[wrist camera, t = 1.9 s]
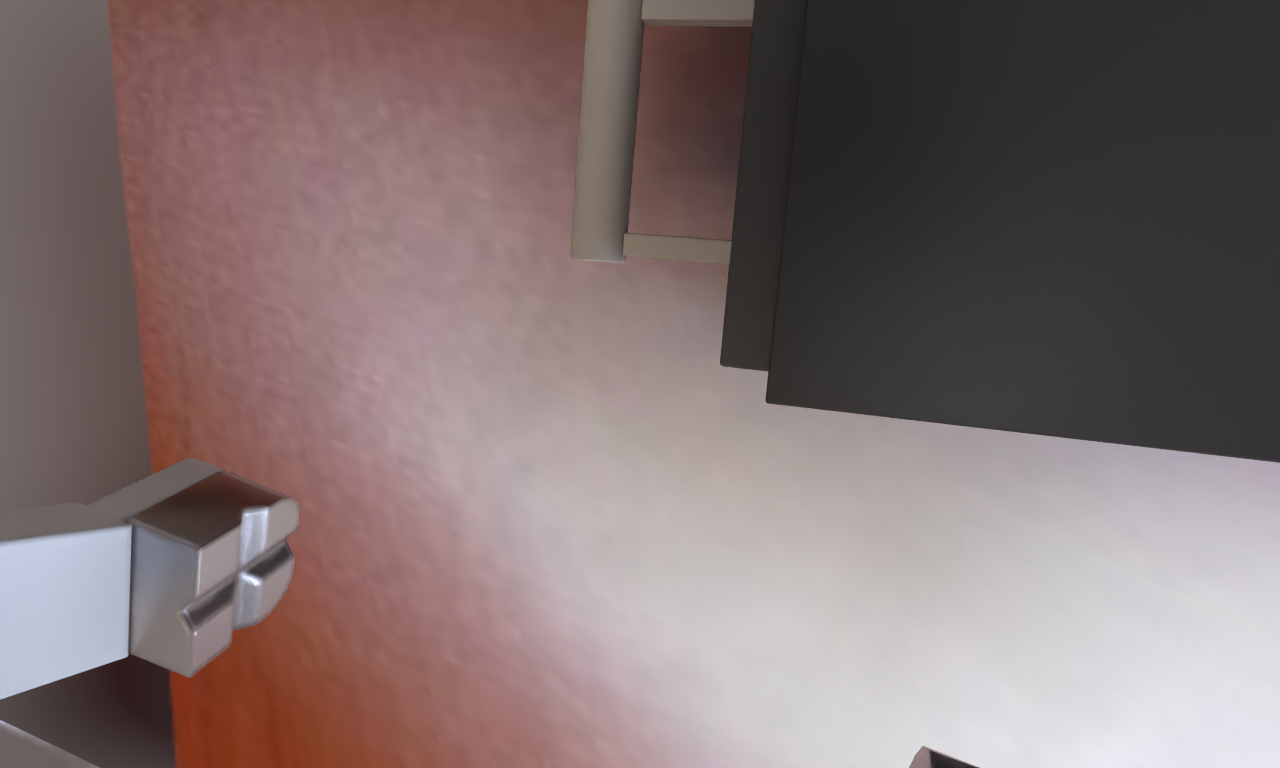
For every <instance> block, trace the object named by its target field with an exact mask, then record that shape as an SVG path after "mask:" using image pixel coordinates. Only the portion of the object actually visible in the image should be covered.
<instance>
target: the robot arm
mask: <svg viewBox="0 0 1280 768" xmlns="http://www.w3.org/2000/svg"><path fill="white" fill-rule="evenodd" d="M298 518H299V506H298V504H297V503H296V502H295V500H294V499H293V498H291V497H289V496H287V495H284V494H282V493H280V492H277V491H275V490H272V489H270V488H268V487H265V486H263V485H260V484H258V483H256V482H253V481H251V480H249V479H246V478H244V477H241V476H239V475H237V474H234V473H232V472H227V471H226V470H224V469H222V468H219V467H217V466H214V465H212V464H209V463H207V462H204V461H202V460H199V459H184V460H182V461H180V462H178V463H176V464H174V465H172V466H169V467H167V468H165V469H163V470H161V471H159V472H157V473H155V474H152V475H150V476H148V477H146V478H144V479H142V480H140V481H138V482H136V483H133V484H131V485H129V486H127V487H125V488H123V489H121V490H119V491H116V492H114V493H112V494H110V495H108V496H106V497H104V498H102V499H99V500H97V501H95V502H93V503H91V504H89V505H87V506H85V505H82V504H80V503H77V502H69V503H60V504H50V505H41V506H32V507H22V508H13V509H4V510H0V699H3V698H6V697H9V696H11V695H15V694H18V693H21V692H23V691H27V690H30V689H33V688H36V687H38V686H42V685H44V684H48V683H51V682H54V681H56V680H59V679H63V678H65V677H68V676H71V675H74V674H77V673H80V672H83V671H86V670H89V669H92V668H95V667H98V666H101V665H104V664H107V663H110V662H113V661H116V660H119V659H122V658H125V657H127V656H128V653H130V654H132V655H135V656H138V657H140V658H142V659H145V660H147V661H150V662H152V663H154V664H157V665H159V666H162V667H164V668H167V669H169V670H172V671H174V672H177V673H179V674H181V675H184V676H186V677H189V678H190V677H191V676H193V675H194V674H195V673H197V672H198V671H199V670H200V669H202V668H203V667H204V666H205V665H207V664H208V663H209V662H210V661H212V660H213V659H214V658H215V657H217V656H218V655H219V654H220V653H222V652H223V651H224V650H226V649H227V648H228V647H229V646H231V640H232V634H233V630H237V629H241V628H245V627H249V626H253V625H257V624H258V623H259V622H260V621H261V620H263V619H264V618H265V617H266V616H267V615H269V614H270V613H271V612H272V611H273V610H274V608H275V607H276V605H277V604H278V603H279V601H280V600H281V598H282V597H283V595H284V594H285V592H286V591H287V588H288V585H289V582H290V579H291V577H292V573H293V566H294V556H293V553H292V551H291V549H290V547H289V545H288V542H287V540H286V538H288V537H289V536H290V535H291V534H292V533H293V532H295V531H296V530H297V529H298ZM0 768H100V767H98V766H95V765H93V764H91V763H89V762H87V761H85V760H83V759H81V758H79V757H76V756H74V755H72V754H70V753H68V752H66V751H64V750H62V749H60V748H58V747H56V746H54V745H52V744H49V743H47V742H45V741H43V740H41V739H39V738H37V737H35V736H33V735H31V734H29V733H26V732H24V731H22V730H20V729H18V728H16V727H14V726H12V725H10V724H8V723H5V722H4V721H1V720H0ZM909 768H979V767H976V766H974V765H971V764H969V763H966V762H964V761H961V760H958V759H956V758H953V757H951V756H948V755H945V754H943V753H940V752H938V751H935V750H933V749H930V748H927V747H925V746H922V748H921V749H920V750H919V751H918V752H917V754H916V755H915V757H914V759H913V761H912V763H911V765H910V767H909Z"/></svg>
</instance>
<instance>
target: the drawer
mask: <svg viewBox="0 0 1280 768" xmlns="http://www.w3.org/2000/svg"><path fill="white" fill-rule="evenodd" d="M806 3H807V0H588V11H587V25H586V39H585V54H584V68H583V82H582V96H581V111H580V125H579V139H578V153H577V167H576V182H575V196H574V210H573V224H572V239H571V253H570V257H571V259H574V260H584V261H595V262H607V263H625V260H626V256H629V257H642V258H655V259H668V260H681V261H694V262H706V263H719V264H729V273H728V284H727V294H726V305H725V315H724V326H723V336H722V347H721V357H720V364H721V365H722V366H723V367H733V368H742V369H752V370H761V371H769V362H770V352H771V343H772V333H773V323H774V313H775V304H776V294H777V284H778V275H779V265H780V255H781V246H782V236H783V226H784V216H785V207H786V197H787V187H788V178H789V168H790V158H791V149H792V139H793V129H794V119H795V110H796V100H797V90H798V81H799V71H800V61H801V52H802V42H803V32H804V23H805V13H806ZM644 23H645V24H646V25H647V26H720V27H752V32H751V43H750V53H749V64H748V74H747V85H746V95H745V106H744V116H743V127H742V137H741V148H740V158H739V169H738V179H737V190H736V200H735V211H734V221H733V232H732V240H720V239H706V238H692V237H677V236H663V235H649V234H635V233H628V222H629V209H630V197H631V184H632V171H633V159H634V146H635V133H636V121H637V108H638V95H639V83H640V70H641V57H642V45H643V32H644Z"/></svg>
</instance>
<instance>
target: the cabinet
mask: <svg viewBox="0 0 1280 768" xmlns="http://www.w3.org/2000/svg"><path fill="white" fill-rule="evenodd" d="M766 403H769V404H778V405H787V406H795V407H804V408H812V409H821V410H830V411H838V412H847V413H856V414H864V415H873V416H881V417H890V418H899V419H907V420H916V421H925V422H933V423H942V424H950V425H959V426H968V427H976V428H985V429H994V430H1002V431H1011V432H1020V433H1028V434H1037V435H1045V436H1054V437H1063V438H1071V439H1080V440H1089V441H1097V442H1106V443H1114V444H1123V445H1132V446H1140V447H1149V448H1158V449H1166V450H1175V451H1183V452H1192V453H1201V454H1209V455H1218V456H1227V457H1235V458H1244V459H1253V460H1261V461H1270V462H1278V463H1280V0H807V3H806V13H805V23H804V32H803V42H802V52H801V61H800V71H799V81H798V90H797V100H796V110H795V119H794V129H793V139H792V149H791V158H790V168H789V178H788V187H787V197H786V207H785V216H784V226H783V236H782V246H781V255H780V265H779V275H778V284H777V294H776V304H775V313H774V323H773V333H772V343H771V352H770V362H769V372H768V381H767V391H766Z"/></svg>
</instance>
